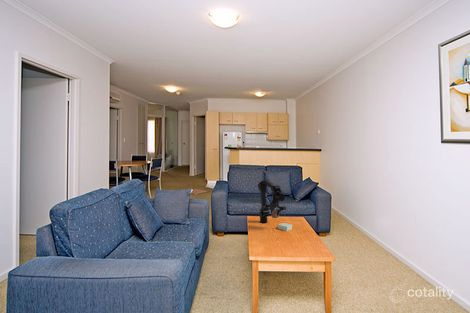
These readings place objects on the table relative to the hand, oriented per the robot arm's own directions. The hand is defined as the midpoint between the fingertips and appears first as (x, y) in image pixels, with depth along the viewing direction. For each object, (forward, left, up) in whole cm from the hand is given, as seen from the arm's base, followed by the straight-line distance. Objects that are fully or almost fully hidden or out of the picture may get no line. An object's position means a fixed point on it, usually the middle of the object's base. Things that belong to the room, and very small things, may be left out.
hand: (275, 216), depth 236 cm
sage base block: (+7, +5, -12) cm, 15 cm away
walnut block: (0, 0, -1) cm, 1 cm away
